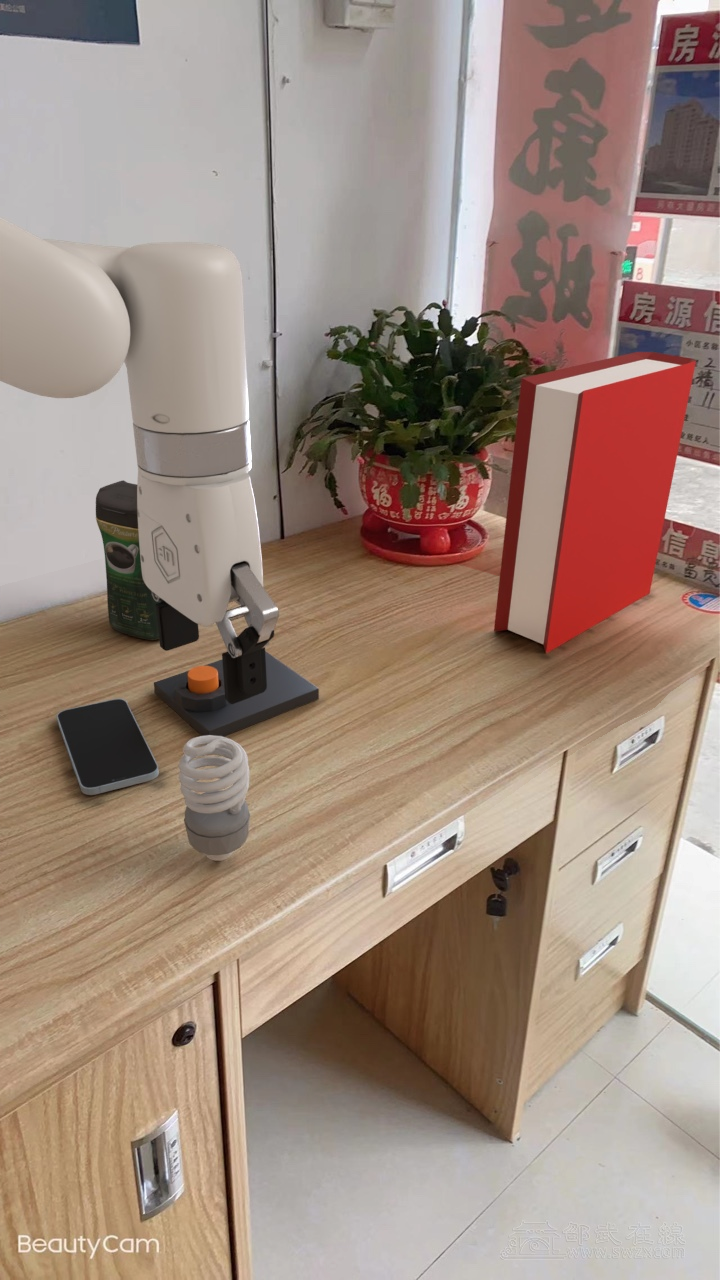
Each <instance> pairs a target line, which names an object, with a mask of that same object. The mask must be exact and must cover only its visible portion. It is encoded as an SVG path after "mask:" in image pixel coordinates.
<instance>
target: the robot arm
mask: <svg viewBox="0 0 720 1280" xmlns="http://www.w3.org/2000/svg"><path fill="white" fill-rule="evenodd" d="M242 274H243V273H242V269H241V265H240V262H239V260H238V258H237V257H236V255H235V253H234V252H232V251H231V250H230V249H229V248H227V247H224V246H222V245H221V244H220V245H219V244H214V243H208V242H196V241H195V242H194V241H161V242H147V243H142V244H135V245H133V246H131V247H129V246H128V247H127V246H126V247H125V246H112V245H101V244H100V245H99V244H91V243H83V242H75V241H68V240H60V239H50V238H41V237H39V236H37V235H35V234H33V233H32V232H29V231H28V230H26V229H24V228H23V227H20V226H18V225H16V224H15V223H13V222H10V221H8V220H7V219H5V218H3V217H1V216H0V382H2V383H4V384H6V385H9V386H12V387H13V388H17V389H19V390H21V391H24V392H27V393H29V394H33V395H37V396H40V397H47V398H54V399H74V398H79V397H84V396H87V395H90V394H92V393H94V392H97V391H98V390H100V389H102V388H103V387H104V386H106V385H107V384H108V383H110V382H111V381H112V380H113V379H114V377H116V375H117V374H118V373H119V371H120V370H121V368H122V366H123V364H125V367H126V374H127V382H128V392H129V400H130V411H131V418H132V428H133V437H134V446H135V454H136V455H135V456H136V465H137V511H138V531H139V546H140V559H141V569H142V577H143V580H144V582H145V584H146V586H147V587H148V588H149V589H150V590H151V592H152V596H153V598H154V600H155V601H156V602H158V601H161V602H160V603H157V604H155V606H156V615H157V624H158V633H159V639H158V641H159V647H160V648H161V649H162V650H164V651H166V652H168V651H171V650H174V649H178V648H180V647H182V646H186V645H189V644H192V643H195V642H197V641H198V640H199V639H200V631H199V630H200V629H199V626H202V627H205V628H209V627H212V626H214V624H216V627H217V629H218V631H219V634H220V636H221V639H222V641H223V643H224V646H225V648H226V651H225V652H222V653H221V660H222V662H223V676H224V689H225V699H226V701H228V702H229V703H230V704H235V703H237V702H240V701H243V700H245V699H248V698H250V697H253V696H256V695H258V694H261V693H263V692H264V691H265V690H266V688H267V678H266V656H265V651H266V648H267V647H269V646H270V641H271V640H272V639H274V636H275V628H276V625H277V622H278V620H279V617H280V610H279V608H278V605H276V603H275V602H274V600H273V598H271V596H270V594H269V593H268V592H267V590H266V589H265V587H264V573H263V572H264V571H263V570H264V569H263V558H262V557H263V556H262V548H261V547H262V546H261V538H260V529H259V520H258V515H257V506H256V501H255V496H254V490H253V486H252V480H251V476H250V474H249V472H250V471H251V469H252V466H253V465H252V449H251V448H252V447H251V428H250V407H249V406H250V405H249V404H250V403H249V389H248V388H249V386H248V372H247V371H248V369H247V350H246V349H247V348H246V328H245V327H246V326H245V309H244V308H245V307H244V306H245V305H244V284H243V275H242ZM233 602H235V604H238V605H239V606H237V607H233V608H230V609H228V607H229V604H230V603H233ZM241 618H244V619H245V622H246V624H247V626H248V627H246V628H244V629H243V630H242V631H241V632H240V633H239V635H237V632H236V630H235V628H234V626H233V625H234V624H233V621H234V620H235V621H236V620H238V619H241Z"/></svg>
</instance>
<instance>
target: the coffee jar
mask: <svg viewBox="0 0 720 1280" xmlns="http://www.w3.org/2000/svg"><path fill="white" fill-rule="evenodd" d="M95 520H96V524H97V527H98V530H99V532H100V534H101V539H102V545H103V552H104V553H103V554H104V563H105V575H106V598H107V600H106V602H107V614H108V622H109V623H108V624H109V625H110V627H111V628H112V629H114V630H116V631H117V632H120V633H122V634H124V635H128V636H130V637H134V638H139V639H143V640H147V641H155V640H159V633H158V624H157V615H156V606H155V604H157V603H160V602H161V601H158V602H156V601H155V600H154V598H153V596H152V592H151V590H150V589H149V588H148V587H147V586H146V584H145V582H144V580H143V577H142V569H141V559H140V546H139V531H138V511H137V484H136V483H131V482H128V481H125V480H119V481H116V482H113V483H110V484H107V485H104V486H102V487H100V488H99V489H98V492H97V493H96V496H95Z"/></svg>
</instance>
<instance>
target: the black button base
mask: <svg viewBox="0 0 720 1280" xmlns="http://www.w3.org/2000/svg"><path fill="white" fill-rule="evenodd" d="M265 656H266V678H267V688H266V690H265V691H264V692H263V693H261V694H258V695H256V696H253V697H250V698H248V699H245V700H243V701H240V702H237V703H235V704H230V703H229V702H228V701H226V699H225V689H224V676H223V662H222V659H220V660H215V661H214V662H210V663H207V664H204V665H203V666H211V667H214V668H215V669H217V671H218V682H219V687H218V689H217V690H216V691H213V692H210V693H202V694H198V693H193V692H191V691H190V690H189V686H188V672H189V670H186V671H183V672H180V673H178V674H174V675H172V676H168V677H166V678H163V679H160V680H157V681H154V682H153V688H154V689H153V690H154V691H153V692H154V694H155V695H156V696H157V697H159V699H161V700H162V701H163V702H164V703H165V704H166V705H167V706H168V707H169V708H171V709H172V710H173V711H174V712H176V714H177V715H178V716H180V717H181V718H182V719H183V721H185V722H186V723H188V725H190V726H191V727H192V728H193V729H194V730H195V731H196V732H197V733H198V734H199V735H200V736H207V735H213V736H222V737H225V736H226V737H227V736H228V735H231V734H233V733H234V734H235V733H236V732H238V731H241V730H244V729H246V728H249V727H251V726H254V725H256V724H259V723H261V722H264V721H266V720H269V719H272V718H274V717H276V716H279V715H281V714H284V713H287V712H289V711H292V710H295V709H297V708H299V707H302V706H304V705H307V704H309V703H312V702H315V701H317V700H319V699H320V689H319V687H318V686H316V685H315V684H313V683H312V682H310V681H309V680H307V679H306V678H304V676H302V675H300V674H299V673H297V672H296V671H295V670H293V669H291V667H289V666H287V665H286V664H284V663H283V662H282V661H281V660H279V659H278V658H276V657H275V656H274V655H272V654H270V653H269V652H268V651H266V650H265Z"/></svg>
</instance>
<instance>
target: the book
mask: <svg viewBox="0 0 720 1280" xmlns="http://www.w3.org/2000/svg"><path fill="white" fill-rule="evenodd" d="M696 363H697V361H696V360H695V359H694V358H691V357H685V356H680V355H674V354H667V353H661V352H655V351H635V352H632V353H627V354H621V355H617V356H613V357H609V358H604V359H600V360H595V361H591V362H586V363H582V364H577V365H574V366H573V365H572V366H569V367H564V368H560V369H556V370H551V371H548V372H543V373H538V374H534V375H529V376H524V377H521V380H520V390H519V397H518V398H519V399H518V407H517V418H516V424H515V425H516V426H515V435H514V443H513V453H512V454H513V455H512V461H511V462H512V463H511V472H510V480H509V489H508V497H507V498H508V499H507V509H506V518H505V524H504V525H505V526H504V535H503V544H502V553H501V562H500V572H499V580H498V589H497V599H496V609H495V616H494V617H495V618H494V628H493V632H501V631H507V630H508V631H510V632H512V633H515V634H517V635H520V636H522V637H524V638H527V639H529V640H532V641H534V642H536V643H538V644H541V645H543V648H544V651H545V654H548V653H550V652H551V651H553V650H555V649H557V648H558V647H560V646H561V645H563V644H565V643H566V642H568V641H570V640H572V639H574V638H575V637H577V636H579V635H581V634H582V633H584V632H586V631H587V630H589V629H591V628H592V627H595V626H596V625H598V624H599V623H601V622H603V621H605V620H606V619H608V618H610V617H612V616H613V615H614V614H617V613H619V612H620V611H622V610H623V609H625V608H627V607H628V606H630V605H632V604H634V603H635V602H638V601H639V600H641V599H643V598H644V597H646V596H648V595H649V594H650V593H651V588H652V583H653V578H654V574H655V568H656V564H657V558H658V554H659V548H660V543H661V539H662V533H663V527H664V524H665V520H666V519H665V518H666V513H667V508H668V505H669V499H670V495H671V489H672V484H673V478H674V473H675V468H676V463H677V458H678V454H679V448H680V443H681V437H682V433H683V429H684V423H685V418H686V414H687V409H688V408H687V407H688V405H689V404H688V403H689V399H690V393H691V389H692V384H693V380H694V379H693V378H694V373H695V369H696Z"/></svg>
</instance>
